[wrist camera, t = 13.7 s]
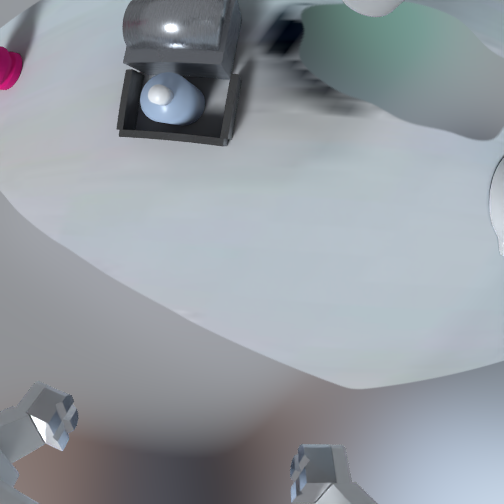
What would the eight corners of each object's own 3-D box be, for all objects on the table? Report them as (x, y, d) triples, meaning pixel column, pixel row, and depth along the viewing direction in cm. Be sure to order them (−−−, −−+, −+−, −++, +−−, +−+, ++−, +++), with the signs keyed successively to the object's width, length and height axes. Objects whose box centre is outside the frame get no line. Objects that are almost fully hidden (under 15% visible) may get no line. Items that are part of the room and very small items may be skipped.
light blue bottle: (208, 86, 31) (189, 68, 22) (201, 127, 33) (179, 122, 24) (167, 83, 31) (136, 67, 22) (160, 124, 33) (128, 119, 24)
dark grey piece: (253, 21, 28) (248, -18, 18) (230, 146, 33) (216, 147, 24) (151, 18, 28) (117, -13, 18) (128, 136, 33) (84, 137, 24)
